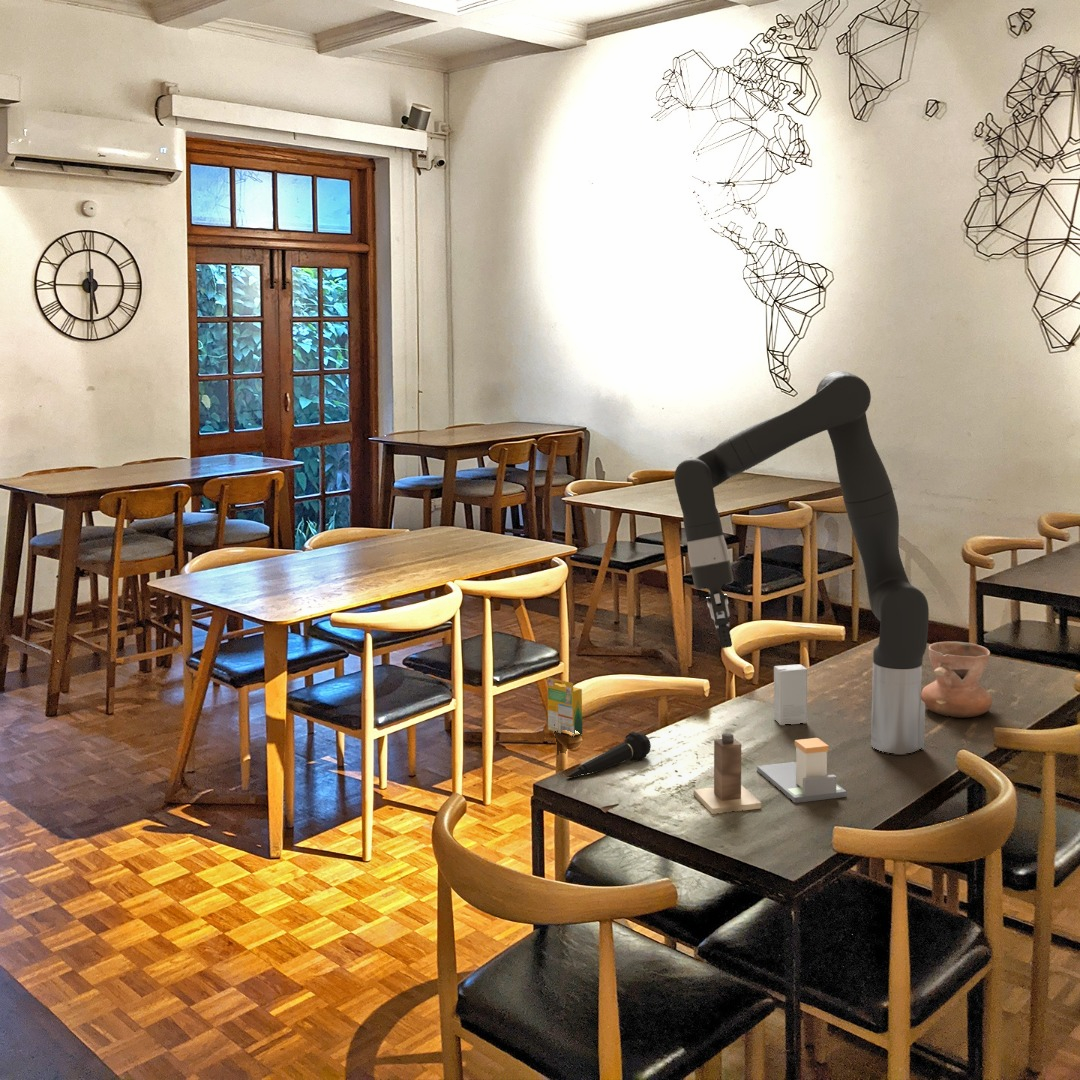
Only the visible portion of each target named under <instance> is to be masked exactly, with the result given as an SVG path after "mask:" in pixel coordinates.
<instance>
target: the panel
mask: <svg viewBox="0 0 1080 1080" xmlns="http://www.w3.org/2000/svg"><path fill="white" fill-rule="evenodd" d="M756 772H758V774H760V775H761V776H762V777H764V779H766V780H767V781H768V782H769V781H770V782H769V783H770V784H772V785H773V786H774V787H775V786H776V787H777V788H778V789H777V788H776V787H775V788H776V789H777V790H778V791H780V790H781V791H782V792H783V793H784V794H785V795H784V794H783V793H782V792H781V791H780V792H781V793H782V794H783V795H784V796H786V795H787V796H786V797H787V798H788V799H789V798H790V799H791V800H792V801H791V800H790V799H789V800H790V801H791V802H792V803H793V804H798V803H805V802H815V801H821V800H822V801H823V800H830V799H838V798H839V799H840V798H846V797H847V793H848V792H847V790H845V789H844V788H843V787H842V786H840V785H839V784H838V783H837V779H838V778H837V775H835V774H828V775H825V776H817V777H808V778H803V788H802V787H800V786H799V785H798V784H797V783H796V761H791V762H790V761H789V762H782V763H781V762H780V763H772V764H761V765H757V766H756Z"/></svg>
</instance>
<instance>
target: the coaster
mask: <svg viewBox="0 0 1080 1080" xmlns="http://www.w3.org/2000/svg"><path fill="white" fill-rule="evenodd" d="M693 796H695V798H696V799H697V800H698V801H699V802H700V803H701V804H702V805H703V806H704V807H705V808H706V809H707V810H708V812H710V814H712V815H717V813H719V814H724V813H723V812H727V813H733V812H732V811H735V812H741V811H742V810H743V811H748V810H758V809H762V802H761V801H760V800H759V799H758V798H757V797H755V795H753V794H752V793H751V792H750V791H749V790H748V789H747V788H745V787H744V786H743V784H741V799H734V800H726V801H721V800H720V799H719V798H718V797H717V796H716V795H715V794H714V786H713V787H705V788H696V789H693Z"/></svg>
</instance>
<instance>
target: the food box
mask: <svg viewBox="0 0 1080 1080" xmlns="http://www.w3.org/2000/svg"><path fill="white" fill-rule="evenodd" d="M546 681H547V682H546V683H547V686H546V687H547V691H546V692H547V730H548V731H550V732H554V733H558V734H561V731H562V730H567V731H570V732H572V733H574V734H575V730H576V731H578V732H579V733H580V735H582V734H583V689H582V688H579V687H575V686H574V683H573V682H570V681H566V680H561V679H556V678H553V677H548V676H547V677H546ZM554 724H555V726H554ZM554 727H555V729H554ZM557 730H558V732H557ZM555 731H556V732H555ZM574 734H573V737H572V738H575V737H574Z"/></svg>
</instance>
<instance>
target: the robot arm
mask: <svg viewBox="0 0 1080 1080" xmlns="http://www.w3.org/2000/svg"><path fill="white" fill-rule="evenodd" d="M871 394H872V393H871V390H870V388H869V385H868V384H867V383H866V382H865V380H864V379H862V378H861V377H859V376H857V375H856V374H853V373H850V372H847V371H833V372H831V373H828V374H826V376H824V377H822V379H821V380H820V381H819V383H818V385H817V388H816V390H815V394H814V395H812V396H811V397H809V398H808V399H806V400H804V402H801V403H800V404H798V405H796V406H795V407H792V408H791V409H788V410H786V411H784V412H782V413H780V414H777V415H775V416H772V417H770V418H768V419H767V418H766V419H765V420H763V421H760V422H758V423H755V424H753V425H751V426H749V427H746V428H745V429H743V430H741V431H739V432H738V433H735V434H733V435H731V436H730V437H728V438H725V439H724V440H723V441H721V442H720V443H719V444H717V445H716V447H714V448H712V449H711V450H708V451H707V452H704V453H702V454H700V455H698V456H697V457H695V458H694V457H693V458H688V459H685V460H683V461H681V462H680V463H679V464H678V465H677V467H676V468H675V471H674V475H673V476H674V477H673V478H674V485H675V490H676V494H677V497H678V501H679V504H680V509H681V511H682V518H683V519H682V520H683V528H684V533H685V537H686V538H685V539H686V542H687V543H686V545H687V554H688V560H689V561H688V562H689V565H690V571H691V576H692V580H693V581H692V582H693V587H694V588H695V589H696V590H704V589H707V590H708V593H707V594H708V597H706V598H705V599H706V604H707V607H708V609H709V613H710V617H711V620H713V624H714V626H715V628H716V634H717V639H718V643H719V646H720V647H721V648H722V649H725V648H726V649H727V648H731V647H732V646H733V641H732V636H731V632H730V619H729V617H730V609H729V599H728V595H727V593H724V592H723V591H722V587H723V586H727V585H729V584H732V583H734V575H733V571H732V565H731V560H730V555H729V554H730V553H729V551H728V545H727V542H726V539H725V536H724V531H723V527H722V521H721V517H720V513H719V511H718V508H717V506H716V505H717V504H716V498H715V492H714V488H716V487H717V486H719V485H720V484H722V483H724V482H726V481H727V480H729V479H730V478H732V477H734V476H736V475H740V474H741V473H744V472H745V471H747V470H749V469H752V468H753V467H755V466H757V465H759V464H761V463H763V462H764V461H766V460H768V459H770V458H771V457H773V456H775V455H777V454H779V453H780V452H782V451H784V450H787V449H788V448H790V447H791V446H794V445H796V444H797V443H799V442H801V441H804V440H807V439H808V438H810V437H813V436H815V435H818V434H819V433H820V434H821V433H822V432H824V431H827V432H828V435H829V439H830V442H831V445H832V449H833V453H834V457H835V464H836V470H837V475H838V479H839V480H838V481H839V486H840V489H841V494H842V499H843V502H844V506H845V510H846V513H847V517H848V521H849V523H850V526H851V527H850V528H851V530H852V533H853V536H854V541H855V543H856V546H857V549H858V551H859V554H860V557H861V561H862V563H863V569H864V574H865V580H866V581H865V582H866V587H867V594H868V602H869V607H870V609H871V612H872V614H873V615H874V616H875V618H876V619H877V620H878V621H879V624H880V625H879V639H878V644H877V645H876V646H875V647H874V649H873V655H872V684H871V685H872V690H871V728H870V729H871V730H870V731H871V732H870V746H871V745H872V746H871V748H872V747H873V748H872V749H874V748H875V749H877V750H879V751H878V752H880V751H882V752H881V753H884V752H891V753H909V752H914V751H916V750H918V749H921V748H924V749H925V729H926V728H925V726H926V725H925V724H926V723H925V722H926V706H925V702H923V701H922V700H921V692H922V688H923V686H922V683H923V682H922V681H923V658H924V655H925V653H926V650H927V645H928V644H927V643H928V632H929V618H930V616H929V615H930V613H929V603H928V600H927V598H926V595H925V594H924V593H923V592H922V591H921V590H920V589H918V588H917V587H915V586H914V585H912V584H911V582H910V580H909V579H908V575H907V573H906V571H905V567H904V564H903V562H902V557H901V555H900V549H899V547H900V546H899V537H900V536H899V534H900V524H899V523H900V519H899V518H900V517H899V511H898V507H897V505H898V504H897V501H896V498H895V493H894V491H893V490H894V489H893V486H892V483H891V480H890V477H889V475H888V473H887V470H886V468H885V465H884V463H883V461H882V459H881V457H880V455H879V453H878V450H877V449H876V446H875V444H874V442H873V439H872V436H871V432H870V428H869V424H868V423H869V422H868V418H867V411H868V409H869V407H870V405H871V399H872V395H871ZM875 749H874V750H875ZM877 750H876V751H877ZM921 750H922V749H921ZM883 751H884V752H883ZM918 751H919V750H918Z"/></svg>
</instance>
